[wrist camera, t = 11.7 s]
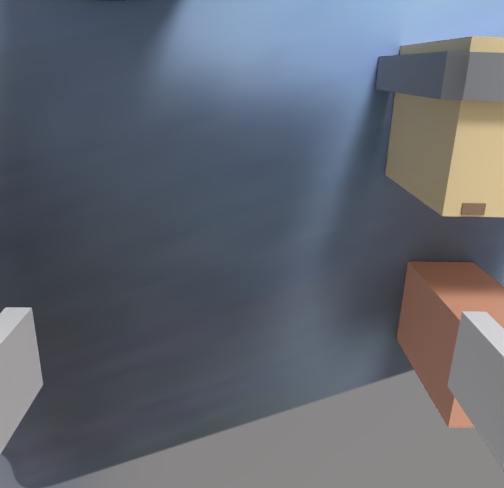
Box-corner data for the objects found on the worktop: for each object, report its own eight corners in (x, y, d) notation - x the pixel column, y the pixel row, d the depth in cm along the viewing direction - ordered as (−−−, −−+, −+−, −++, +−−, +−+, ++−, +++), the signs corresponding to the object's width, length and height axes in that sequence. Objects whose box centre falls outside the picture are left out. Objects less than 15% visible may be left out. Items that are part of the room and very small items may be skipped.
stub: (407, 261, 43) (468, 330, 32) (473, 262, 43) (557, 331, 32) (396, 339, 46) (448, 428, 35) (458, 339, 46) (530, 428, 35)
